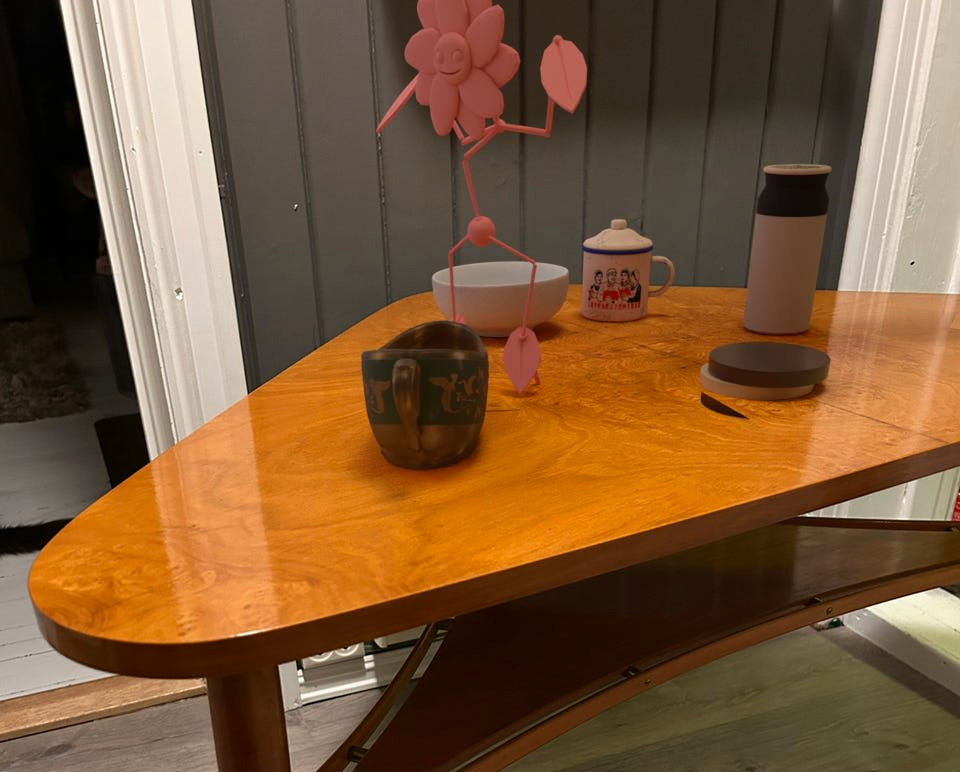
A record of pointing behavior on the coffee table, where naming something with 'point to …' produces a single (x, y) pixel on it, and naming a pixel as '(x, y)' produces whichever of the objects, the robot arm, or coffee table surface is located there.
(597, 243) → the teacup with lid
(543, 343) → the coffee table surface
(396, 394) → the cup
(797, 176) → the travel mug
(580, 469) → the coffee table surface
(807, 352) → the coaster pile
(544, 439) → the coffee table surface
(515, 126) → the figurine
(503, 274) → the cereal bowl
